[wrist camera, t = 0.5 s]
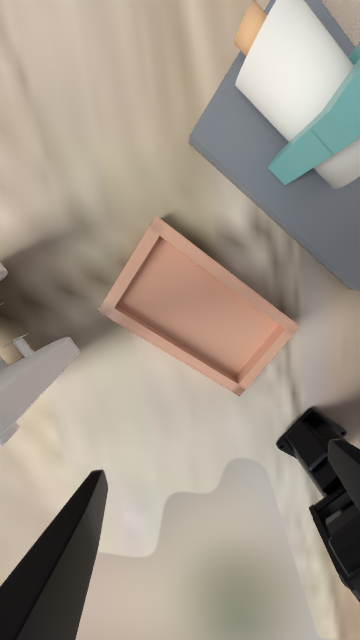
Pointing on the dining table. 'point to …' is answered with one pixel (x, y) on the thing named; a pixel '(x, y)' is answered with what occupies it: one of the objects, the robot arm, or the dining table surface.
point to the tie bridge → (324, 130)
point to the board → (265, 188)
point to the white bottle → (294, 75)
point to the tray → (196, 310)
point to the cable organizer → (29, 376)
